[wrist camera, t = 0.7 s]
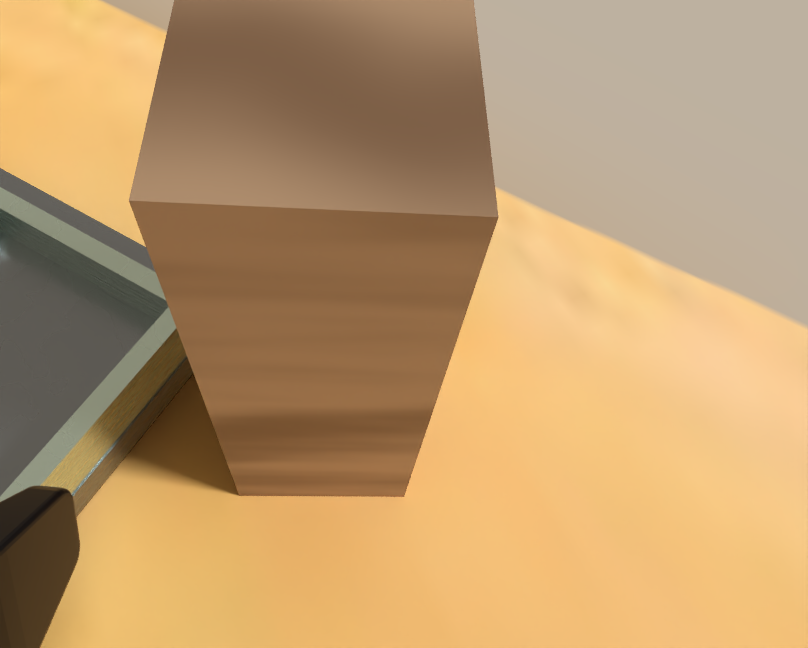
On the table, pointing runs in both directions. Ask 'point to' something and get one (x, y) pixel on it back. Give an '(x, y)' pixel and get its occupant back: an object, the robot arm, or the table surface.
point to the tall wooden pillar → (318, 226)
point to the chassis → (76, 345)
